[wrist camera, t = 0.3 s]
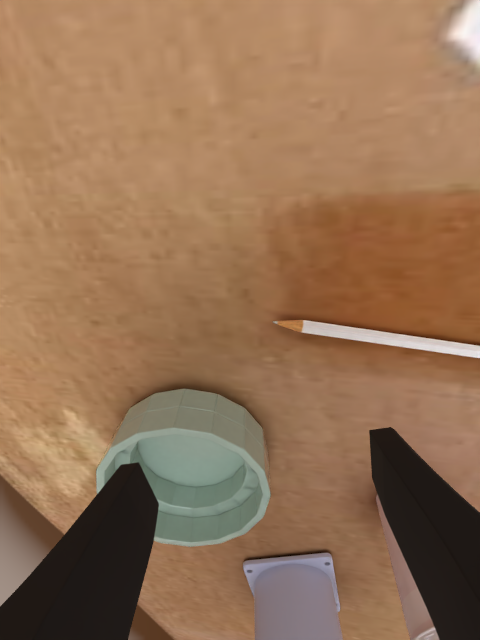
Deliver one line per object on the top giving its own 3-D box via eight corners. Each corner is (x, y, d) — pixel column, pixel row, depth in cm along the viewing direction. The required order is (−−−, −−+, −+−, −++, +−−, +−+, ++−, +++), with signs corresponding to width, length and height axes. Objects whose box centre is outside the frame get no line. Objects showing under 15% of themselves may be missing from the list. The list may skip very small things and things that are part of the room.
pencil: (570, 368, 20) (580, 375, 19) (269, 325, 19) (270, 330, 18) (577, 357, 19) (588, 364, 19) (272, 313, 19) (273, 318, 18)
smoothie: (348, 517, 26) (439, 838, 14) (373, 463, 24) (515, 800, 11) (423, 526, 27) (580, 849, 14) (456, 473, 24) (689, 815, 11)
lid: (277, 483, 25) (282, 537, 21) (148, 500, 26) (132, 553, 22) (250, 372, 21) (250, 416, 17) (96, 398, 22) (66, 444, 18)
